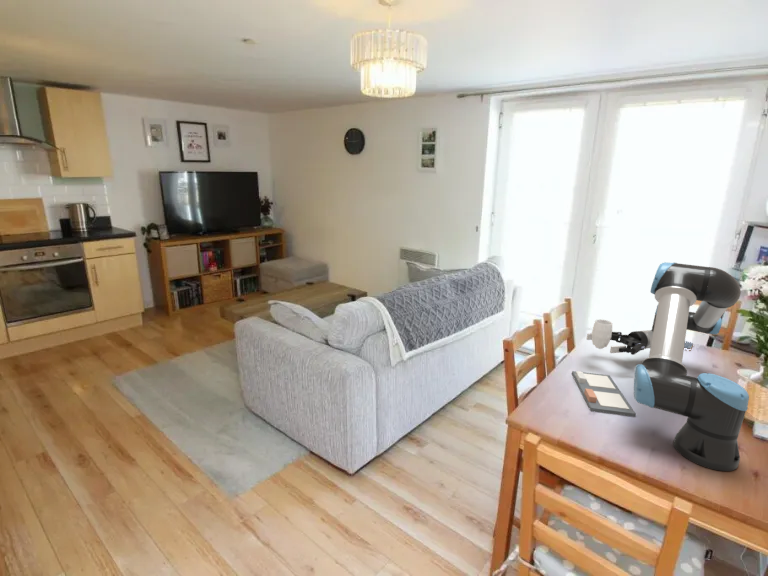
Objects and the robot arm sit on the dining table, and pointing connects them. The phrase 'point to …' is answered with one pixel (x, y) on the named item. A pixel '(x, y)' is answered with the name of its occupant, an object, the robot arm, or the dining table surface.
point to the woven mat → (688, 345)
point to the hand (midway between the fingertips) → (598, 343)
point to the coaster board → (602, 394)
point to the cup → (601, 333)
